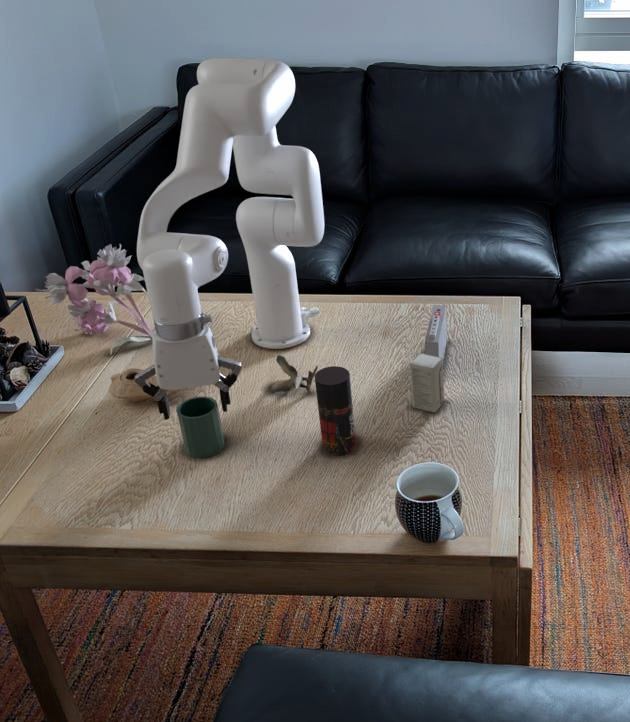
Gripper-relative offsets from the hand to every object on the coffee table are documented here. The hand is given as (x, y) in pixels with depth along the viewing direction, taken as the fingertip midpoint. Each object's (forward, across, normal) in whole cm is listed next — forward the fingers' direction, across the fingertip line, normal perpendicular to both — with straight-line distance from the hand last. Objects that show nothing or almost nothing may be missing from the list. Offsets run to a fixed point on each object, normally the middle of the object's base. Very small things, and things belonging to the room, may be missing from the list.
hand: (196, 411), depth 145 cm
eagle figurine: (+8, -17, -15) cm, 24 cm away
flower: (+7, +20, -46) cm, 51 cm away
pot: (+8, 0, 0) cm, 8 cm away
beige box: (+8, -42, -3) cm, 43 cm away
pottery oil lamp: (+8, +11, -19) cm, 24 cm away
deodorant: (+8, -24, +5) cm, 25 cm away
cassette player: (+7, -47, -19) cm, 51 cm away
